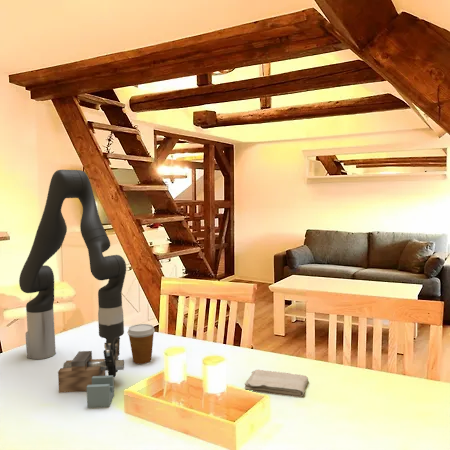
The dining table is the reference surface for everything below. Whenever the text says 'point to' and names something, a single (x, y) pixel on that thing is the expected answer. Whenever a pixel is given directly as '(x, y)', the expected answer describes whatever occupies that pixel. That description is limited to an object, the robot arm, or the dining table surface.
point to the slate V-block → (100, 391)
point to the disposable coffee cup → (141, 342)
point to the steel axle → (99, 363)
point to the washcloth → (277, 383)
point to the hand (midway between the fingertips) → (113, 374)
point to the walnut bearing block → (78, 373)
